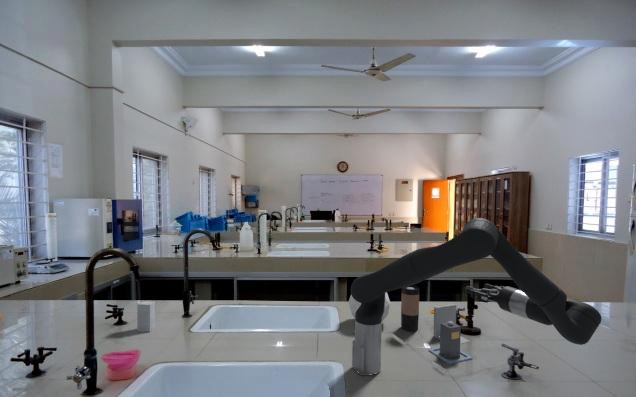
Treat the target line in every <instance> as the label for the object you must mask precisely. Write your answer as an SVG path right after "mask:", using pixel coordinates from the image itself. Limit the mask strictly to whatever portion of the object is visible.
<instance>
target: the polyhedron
mask: <svg viewBox="0 0 636 397" xmlns="http://www.w3.org/2000/svg"><path fill="white" fill-rule="evenodd" d="M347 304H348V306H349V309H350V312H351V315H352V316H353V318H355V313H356V311H357V309H358V308H359V307H360V305H361V303H359V302H357V301H356V300H355V299H354V298H353V297H352V295H351V294H350V296H349V299H348V302H347ZM390 308H391V300H390V298H389V294H388V292H386V293H385V307H384V313H383V316H382V322H383V321H385V319H386V318H387V317H388V315H389V313H390Z"/></svg>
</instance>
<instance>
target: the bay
mask: <svg viewBox="0 0 636 397" xmlns="http://www.w3.org/2000/svg"><path fill="white" fill-rule="evenodd" d="M448 321H452V322H453V323H455V324H457V304H455V303H453V304H446V305H438V306H434V307H433V337H434V338H436V339H437V338H438V339H437V340H439V339H440V337H439V336H440V326H441V323H445V322H448ZM468 342H470V340H469V339H467V338H465V337H463V336H462V335H460V344H464V343H468Z"/></svg>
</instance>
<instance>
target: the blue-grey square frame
mask: <svg viewBox="0 0 636 397" xmlns="http://www.w3.org/2000/svg"><path fill="white" fill-rule="evenodd" d="M427 351H428V352H430V353H431V354H433V355H434V356H435V357H438V358H439V359H441V360H442V361H444V362H445V363H447V364H448V365H452V364H456V363H462V362H464V361H471V360H473V357H472V356H471V355H470V354H467V353H465V352H464V351H462V350H460V355H462V356H464V357H462V358H457V359H456V358H455V359H453V360H452V359H451V360H450V359H447V358H446V357H445V356H443V355H442V354H440V353H438V352H436V351H440V346H437V347H432V348H428V349H427Z"/></svg>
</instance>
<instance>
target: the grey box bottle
mask: <svg viewBox="0 0 636 397" xmlns="http://www.w3.org/2000/svg"><path fill="white" fill-rule="evenodd" d="M461 328H462V327H461V326H460V325H459V324H457V323H456V324H455V323H453V322H452V321H448V322H445V323H441V326H440V340H439V347H440V350H439V354H440V355H442V356H443V357H445V358H446V359H447V358H448V360H452V359H454V358H455V359H456V358H459V357H461V354H460V351H461V343H460V336H462V335H461V331H462V330H461Z"/></svg>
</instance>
